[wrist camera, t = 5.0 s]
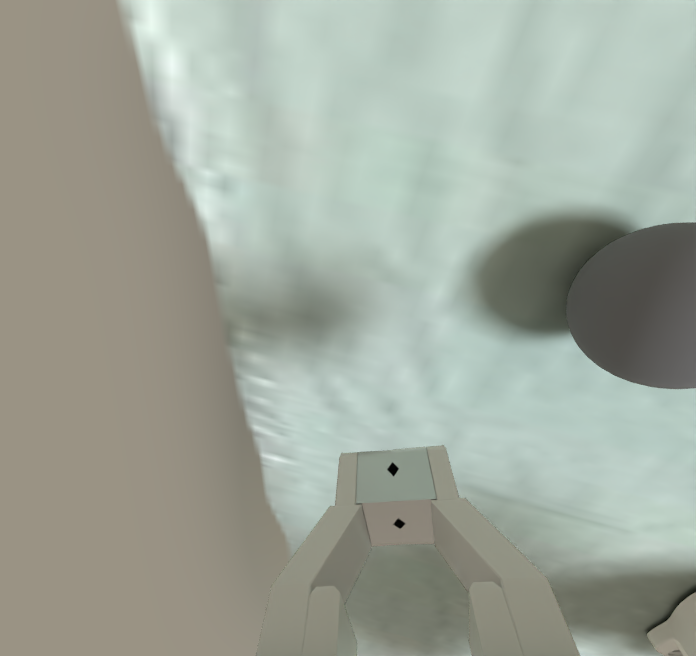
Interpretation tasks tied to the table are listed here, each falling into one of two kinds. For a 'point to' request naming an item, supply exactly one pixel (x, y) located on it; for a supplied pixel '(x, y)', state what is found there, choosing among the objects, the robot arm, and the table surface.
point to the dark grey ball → (640, 307)
